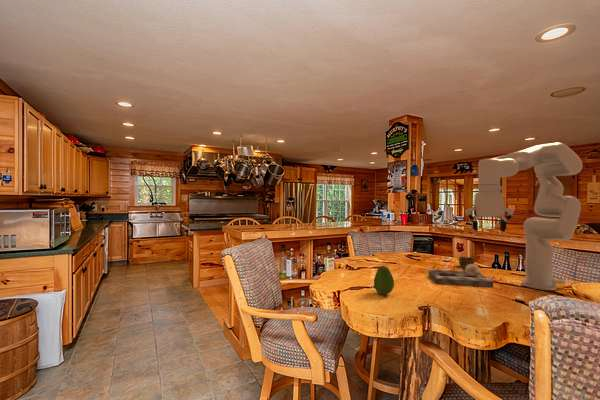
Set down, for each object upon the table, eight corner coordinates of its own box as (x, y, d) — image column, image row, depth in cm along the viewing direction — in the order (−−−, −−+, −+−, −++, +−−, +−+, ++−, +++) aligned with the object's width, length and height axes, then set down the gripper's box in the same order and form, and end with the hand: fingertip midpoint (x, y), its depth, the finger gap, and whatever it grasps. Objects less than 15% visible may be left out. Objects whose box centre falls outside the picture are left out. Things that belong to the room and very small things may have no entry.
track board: (479, 278, 145) (479, 271, 145) (493, 287, 131) (493, 279, 131) (428, 275, 149) (428, 269, 149) (436, 283, 135) (436, 276, 135)
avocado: (373, 296, 117) (373, 267, 117) (373, 290, 124) (374, 262, 124) (394, 298, 115) (394, 268, 115) (393, 292, 122) (393, 264, 122)
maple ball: (476, 275, 141) (476, 262, 141) (482, 278, 135) (482, 265, 135) (463, 274, 142) (463, 262, 142) (468, 277, 136) (468, 265, 136)
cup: (477, 274, 152) (477, 259, 152) (463, 274, 152) (463, 259, 152) (469, 270, 160) (469, 256, 159) (455, 270, 160) (456, 256, 160)
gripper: (509, 189, 120) (509, 230, 120) (463, 189, 125) (463, 229, 125) (517, 188, 113) (517, 232, 113) (467, 189, 117) (467, 231, 118)
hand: (488, 231), depth 119 cm, fingers open, 9 cm apart
